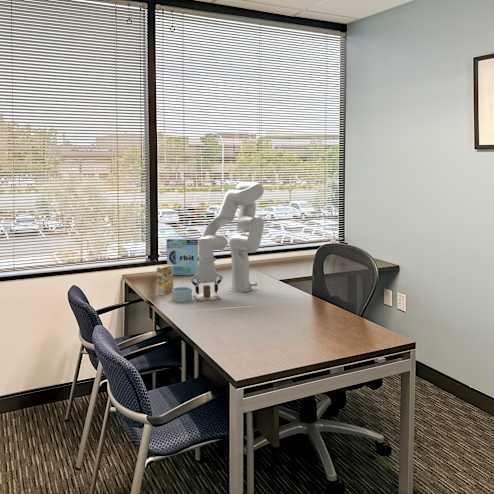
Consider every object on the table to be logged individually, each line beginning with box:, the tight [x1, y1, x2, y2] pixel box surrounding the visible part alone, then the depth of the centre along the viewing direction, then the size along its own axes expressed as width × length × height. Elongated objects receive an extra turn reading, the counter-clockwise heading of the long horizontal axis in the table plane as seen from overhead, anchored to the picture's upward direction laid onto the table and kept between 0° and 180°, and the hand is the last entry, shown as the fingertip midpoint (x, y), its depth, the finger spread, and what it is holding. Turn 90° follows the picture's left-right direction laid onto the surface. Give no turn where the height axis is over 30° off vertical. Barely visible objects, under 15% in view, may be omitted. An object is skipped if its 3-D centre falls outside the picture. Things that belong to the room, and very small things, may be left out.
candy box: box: [156, 264, 174, 297], centre depth 289 cm, size 9×4×15 cm, turn 150°
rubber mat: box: [192, 293, 223, 303], centre depth 279 cm, size 13×13×1 cm
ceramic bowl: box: [171, 286, 193, 303], centre depth 275 cm, size 10×10×6 cm
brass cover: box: [195, 284, 220, 302], centre depth 278 cm, size 12×12×6 cm
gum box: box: [166, 238, 199, 276], centre depth 338 cm, size 20×5×23 cm, turn 85°
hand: (206, 293), depth 278 cm, fingers open, 9 cm apart
